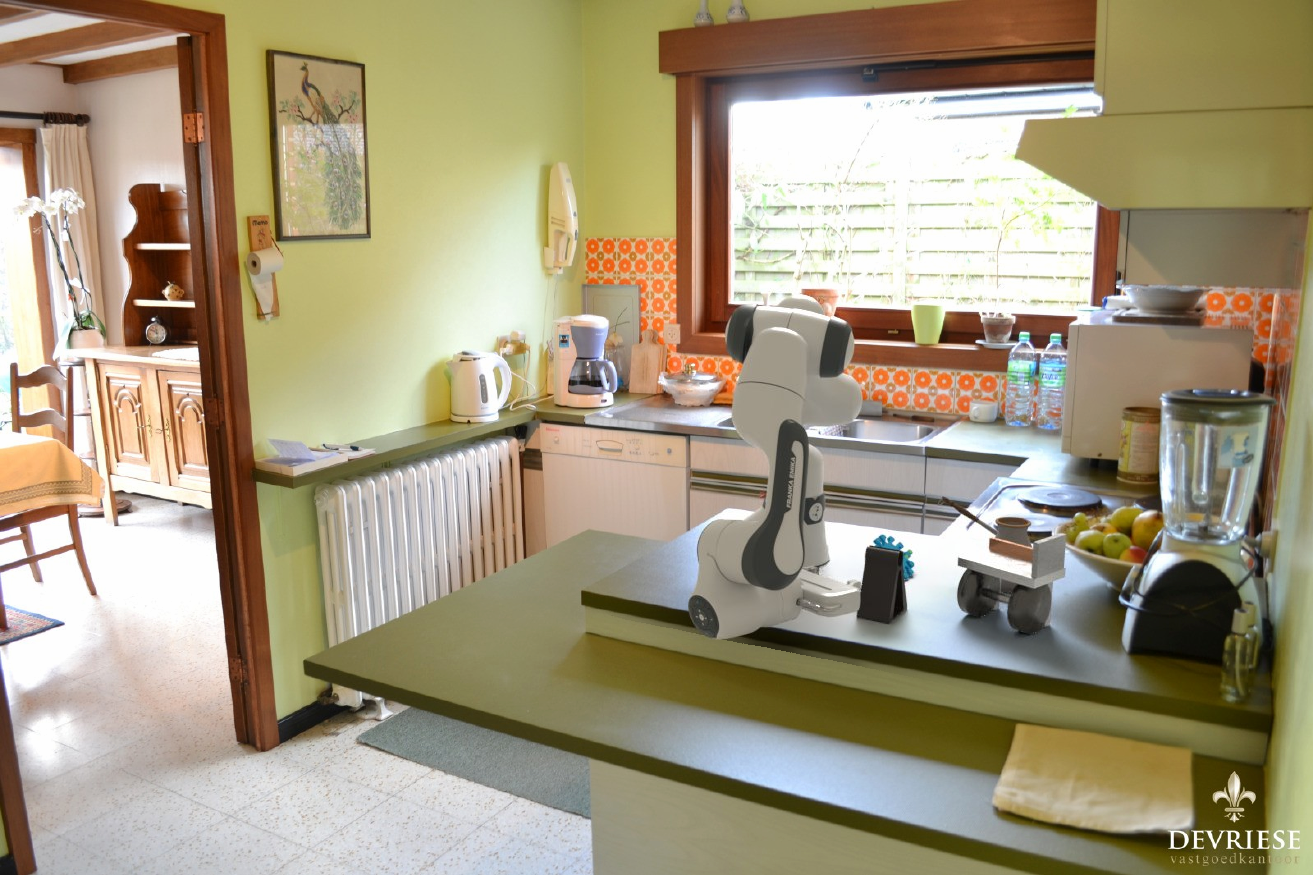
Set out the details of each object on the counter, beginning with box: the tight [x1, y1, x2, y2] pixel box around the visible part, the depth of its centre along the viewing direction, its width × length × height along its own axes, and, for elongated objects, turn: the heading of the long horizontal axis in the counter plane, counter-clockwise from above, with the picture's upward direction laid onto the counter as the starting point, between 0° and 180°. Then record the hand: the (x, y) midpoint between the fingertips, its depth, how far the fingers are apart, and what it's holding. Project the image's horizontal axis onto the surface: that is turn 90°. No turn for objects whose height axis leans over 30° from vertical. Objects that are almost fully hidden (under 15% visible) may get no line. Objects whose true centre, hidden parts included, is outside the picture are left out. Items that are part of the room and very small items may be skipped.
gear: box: [872, 534, 915, 580], centre depth 202 cm, size 11×6×10 cm
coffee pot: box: [937, 496, 1033, 594], centre depth 196 cm, size 21×12×15 cm, turn 44°
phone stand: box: [856, 544, 908, 625], centre depth 180 cm, size 9×6×12 cm, turn 146°
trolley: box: [956, 532, 1067, 635], centre depth 175 cm, size 15×10×17 cm
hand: (836, 578), depth 172 cm, fingers open, 8 cm apart
